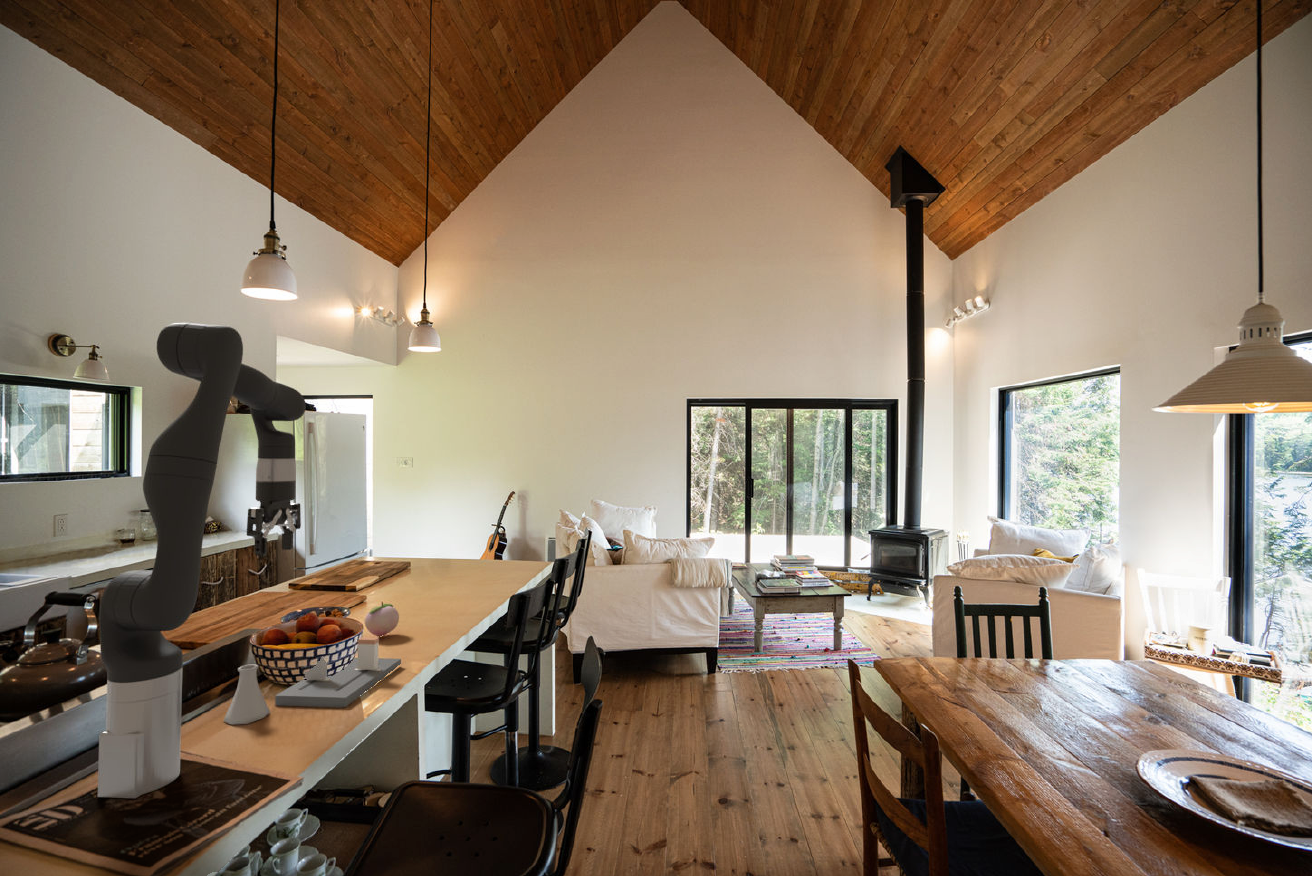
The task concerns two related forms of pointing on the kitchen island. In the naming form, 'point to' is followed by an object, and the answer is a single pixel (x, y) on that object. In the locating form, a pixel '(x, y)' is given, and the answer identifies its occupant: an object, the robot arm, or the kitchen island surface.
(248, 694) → the flask
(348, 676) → the gray slotted board
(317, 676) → the fader
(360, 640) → the fader
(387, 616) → the decorative fruit
